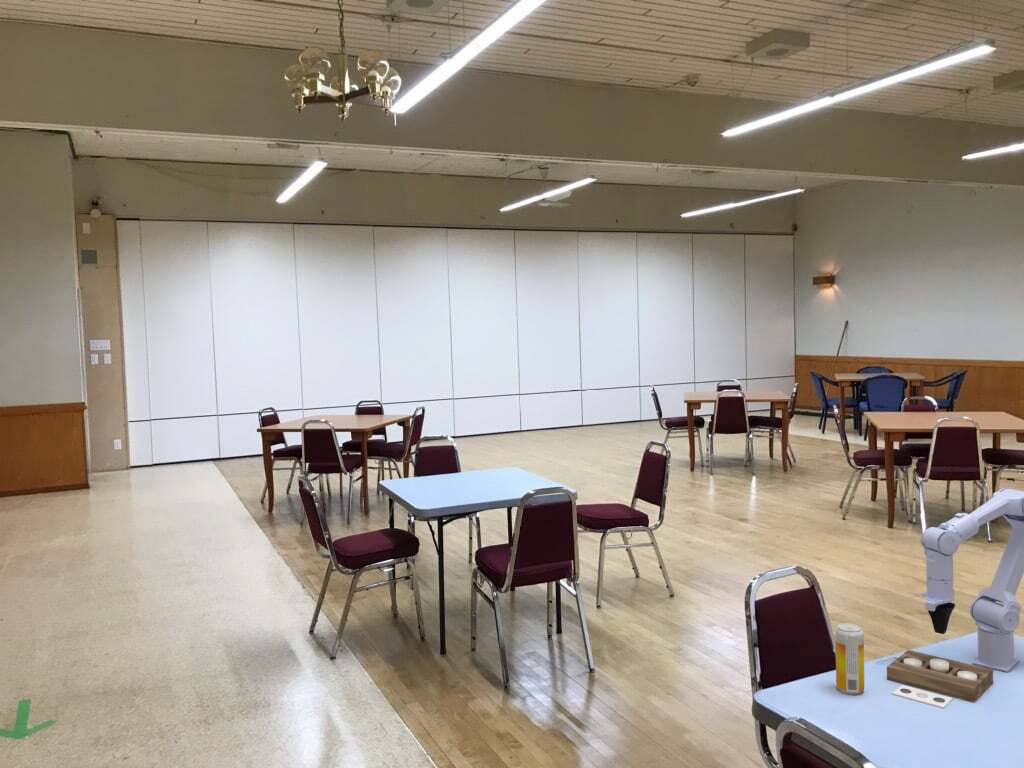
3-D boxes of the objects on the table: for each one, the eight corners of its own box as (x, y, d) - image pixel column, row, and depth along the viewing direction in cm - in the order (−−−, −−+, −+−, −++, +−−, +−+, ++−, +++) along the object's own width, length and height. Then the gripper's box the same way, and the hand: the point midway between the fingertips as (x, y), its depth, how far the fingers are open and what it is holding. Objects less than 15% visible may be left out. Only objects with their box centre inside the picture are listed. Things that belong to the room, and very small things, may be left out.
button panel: (908, 662, 204) (908, 649, 204) (993, 682, 190) (993, 669, 190) (887, 679, 194) (886, 666, 194) (974, 702, 180) (974, 688, 180)
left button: (907, 666, 199) (907, 656, 199) (924, 670, 196) (924, 660, 196) (901, 671, 196) (901, 661, 196) (918, 675, 193) (918, 665, 193)
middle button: (933, 667, 195) (933, 657, 195) (951, 671, 192) (951, 661, 192) (927, 672, 192) (927, 662, 192) (945, 677, 189) (945, 666, 189)
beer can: (859, 684, 191) (858, 622, 191) (868, 695, 185) (867, 631, 185) (833, 684, 192) (832, 622, 191) (840, 695, 186) (839, 631, 185)
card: (902, 686, 190) (902, 684, 190) (952, 699, 182) (952, 697, 182) (892, 694, 186) (892, 692, 186) (943, 708, 178) (943, 706, 178)
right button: (960, 679, 191) (960, 669, 190) (979, 684, 188) (979, 673, 188) (955, 685, 188) (955, 674, 188) (974, 689, 185) (974, 679, 185)
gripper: (932, 568, 204) (933, 621, 204) (911, 581, 194) (912, 636, 194) (963, 573, 199) (963, 627, 199) (943, 586, 189) (943, 643, 189)
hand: (940, 632), depth 196 cm, fingers closed
